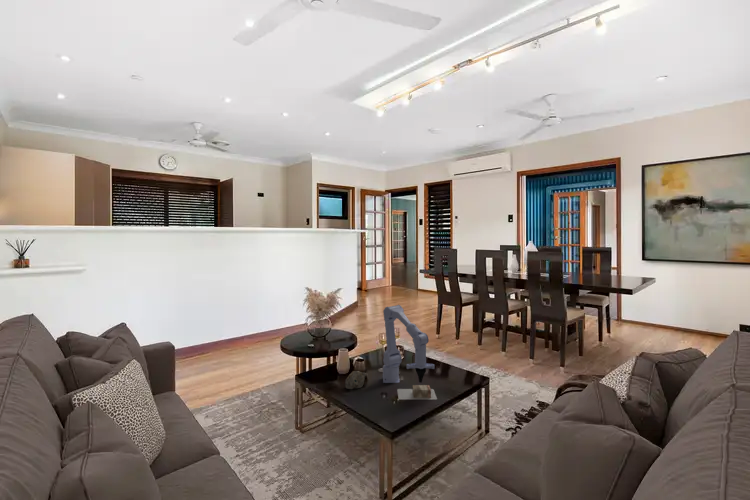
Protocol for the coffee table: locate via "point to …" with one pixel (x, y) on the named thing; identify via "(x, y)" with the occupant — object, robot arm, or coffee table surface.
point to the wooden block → (421, 391)
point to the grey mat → (408, 395)
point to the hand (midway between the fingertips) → (420, 381)
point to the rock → (355, 380)
